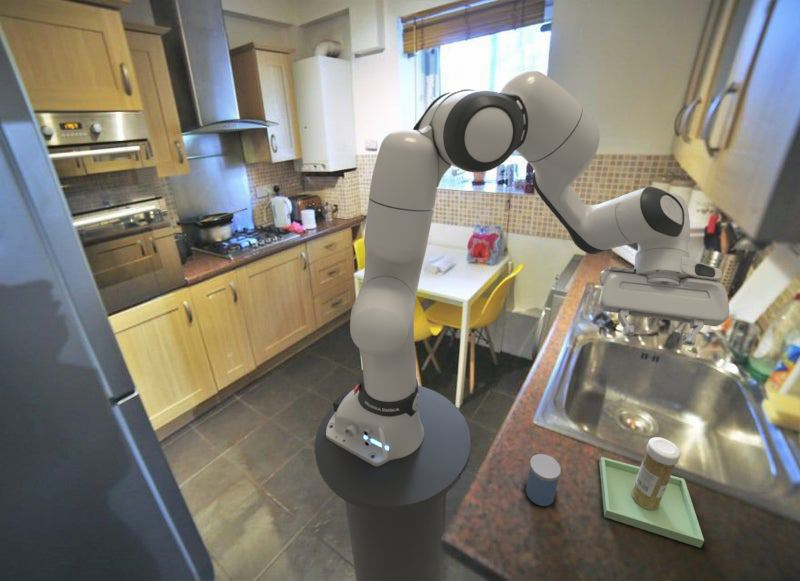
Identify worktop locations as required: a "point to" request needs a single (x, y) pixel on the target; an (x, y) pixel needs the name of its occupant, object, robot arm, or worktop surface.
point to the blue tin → (542, 479)
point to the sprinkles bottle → (655, 472)
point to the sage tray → (666, 520)
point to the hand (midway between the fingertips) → (657, 339)
